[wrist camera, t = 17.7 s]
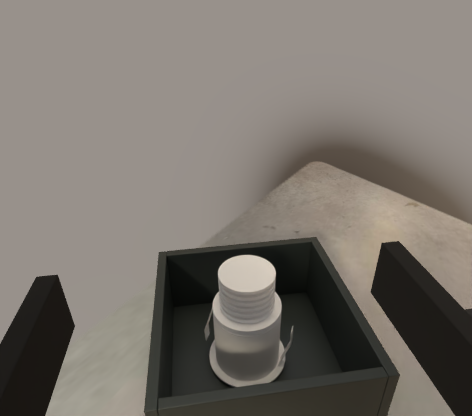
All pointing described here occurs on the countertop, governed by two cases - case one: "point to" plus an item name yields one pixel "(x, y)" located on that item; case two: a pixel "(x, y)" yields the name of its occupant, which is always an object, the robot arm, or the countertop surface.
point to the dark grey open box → (299, 353)
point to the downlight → (247, 323)
